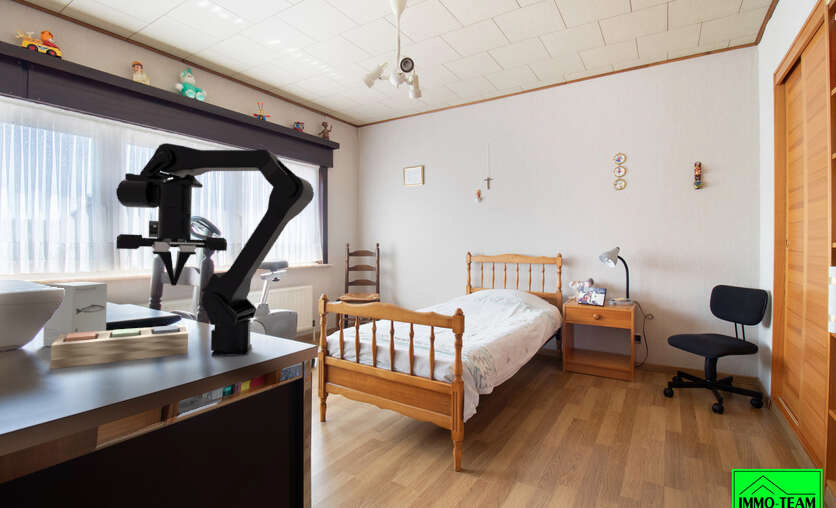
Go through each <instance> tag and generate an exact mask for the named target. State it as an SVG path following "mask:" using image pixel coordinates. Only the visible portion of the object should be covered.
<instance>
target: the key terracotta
mask: <svg viewBox="0 0 836 508" xmlns="http://www.w3.org/2000/svg"><path fill="white" fill-rule="evenodd" d="M90 339H97V331H93V332H80V333H69V334H68V335H67V337H66V341H78V340H90Z"/></svg>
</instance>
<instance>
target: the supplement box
mask: <svg viewBox="0 0 836 508" xmlns="http://www.w3.org/2000/svg"><path fill="white" fill-rule="evenodd" d="M45 285H46V286H50V287H57V288H64V289H65V296H64V299H63V301H62V303H61V305H60V307H59V308H58V309H57V310H56V311H55V313H54V314H53V315H52V317H51V319H49V320H48V321H47V323H46V324H45V326H44V325H43V338H42V341H43V343H42V345H43V346H45V347H46V346H47V347H51V345H52V344H53V343H54V341H55V340H56V339H57V337H58V336H59V335H60V334H69V333H80V332H93V331H97V332H98V331H107V303H108V294H107V293H108V283H107V282H97V281H94V282H93V281H72V282H71V281H70V282H58V283H55V282H54V283H46V284H44V286H45Z"/></svg>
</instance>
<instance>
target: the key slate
mask: <svg viewBox="0 0 836 508" xmlns="http://www.w3.org/2000/svg"><path fill="white" fill-rule="evenodd" d="M152 327H153V334H161V333H173V332H178V327H177V325H164V326H152Z"/></svg>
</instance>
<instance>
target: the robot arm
mask: <svg viewBox="0 0 836 508" xmlns="http://www.w3.org/2000/svg"><path fill="white" fill-rule="evenodd" d="M209 172H260V174H262V176H263V177H264V179H265V180H266V181H267V182H268V183H269V184H270V185H271V187H272V189H271V191H270V194H269V197H268V204H267V209H266V211H265V213H264V215H263V217H262V218H261V219H260V221H259V222H258V224H257V226H256V228H255V229H254V231H253V232H252V233H251V235H250V237H249V238H248V240H247V241H246V243H245V244H244V246H243V247H242V249H241V251H240V252H239V254H238V255H237V257H236V258H235V260H234V261H233V262H232V265H231V266H230V268H229V269H228V270H227V271H225V272H224V271H223V272H217V273H216V272H215V273H212V275H211V276H210V278H209V280H208V283H207V284H206V285H205V287H204V288H201V292H203V293H202V296H201V299H200V302H201V304H202V308H203V310H204V311H205V312H206V316H207V318H208V321H209V324H210V325H211V326H214V327H213V329H212V330H211V331H210V333H211V334H210V335H211V336H210V351H212V352H211V356H213V357H214V356H238V355H239V356H241V355H242V356H243V355H248V354H249V352H250V350H251V349H252V347H253V345H252V344H251V327H252V326H251V322H252V321H251V319H253V318H255V316H256V313H257V310H258V309H257V307H256V306H255V305H254V304H253V303H252V302H251V301H250V300H249V299H248V296H249V293H250V292H251V283H252V279H253V277H254V275H255V274H256V272H257V271H258V269H259V268H260V266H261V265H262V263H263V262H264V260H265V259H266V257H267V256H268V254H269V253H270V251H271V249H272V248H273V246H274V245H275V243H276V242H277V240H278V239H279V237H280V236H281V234H282V232H283V231H284V229H285V228H286V226H287V224H289V222H290V221H292V220H293V219H294V218H295V217H297V216H298V215H300V214H301V213H302V212H303V211H304V209H305V208H307V206H308V205H309V204H310V203H311V202H312V201H313V198H314V196H315V192H314V188H313V186H312V184H311V183H310V181H308V180H306V179H304V178H302V177H300V176H298V175H296V174H295V173H294V172H293V171H292V170H291V169H290V168H289V167H287V165H285V164H284V163H283V162H282V161H281V160H280V159H279V158H278V156H277V155H276V154H275V153H273V152H272V151H270V150H268V149H265V148H257V149H198V148H193V147H189V146H186V145H179V144H174V143H168V142H166V143H164V142H163V143H161V144H159V145H158V147H157V148H156V149H155V151H154V154H153V155H152V157H151V158H150V159H149V161H148V162H146V164H145V166H144V167H143V168H142V170H141V171H140V172H139V174H136V173H131V172H130V173H127V172H126V173H125V177H124V179H123V180H121V181H120V182H119V184H118V186H117V187H116V190H115V191H116V193H115V194H116V197H117V200H118V202H119V203H120V205H122V206H124V207H125V208H139V209H140V208H144V209H147V208H148V209H149V208H150V209H157V208H158V212H157V215H158V218H157V220H148V237H143V234H129V233H128V234H127V233H120V234H119V235H117V236H116V250H118V249H119V250H138V249H140V248H141V247H147V248H148V247H149V248H151V249H153V250H152V254H153V255H158V256H159V257H160V259H161V261H162V263H163V266H164V268H165V270H166V273H167V277H168V280H169V283H170V286H172V287H173V286H177V283H178V282H179V279H180V277H181V274H182V272H183V270H184V267H185V265H186V263H187V262H188V260H189V258H190V257H191V256H192V255H197V252H196V251H195V250H197V248H198V249H205V250H208V251H209V250H210V251H213V252H214V251H216V252H217V251H218V252H219V251H223V252H224V251H225V252H227V251H228V240H227V239H226V238H225V237H215V236H214V237H213V236H211V237H210V236H209V237H208V236H203V238H202V239H194V238H193V239H192V237H191V236H192V197H193V195H192V192H193V189H192V188H194V189H195V188H196V189H200V188H201V189H202V188H203V184H202V183H201V182H200V181H199V180H198V179H197V178H196V176H201V175H203V174H205V173H209ZM170 248H178V249H179V250H177V253H176V261H175V268H174V267H173V258H172V251H170Z"/></svg>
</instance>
